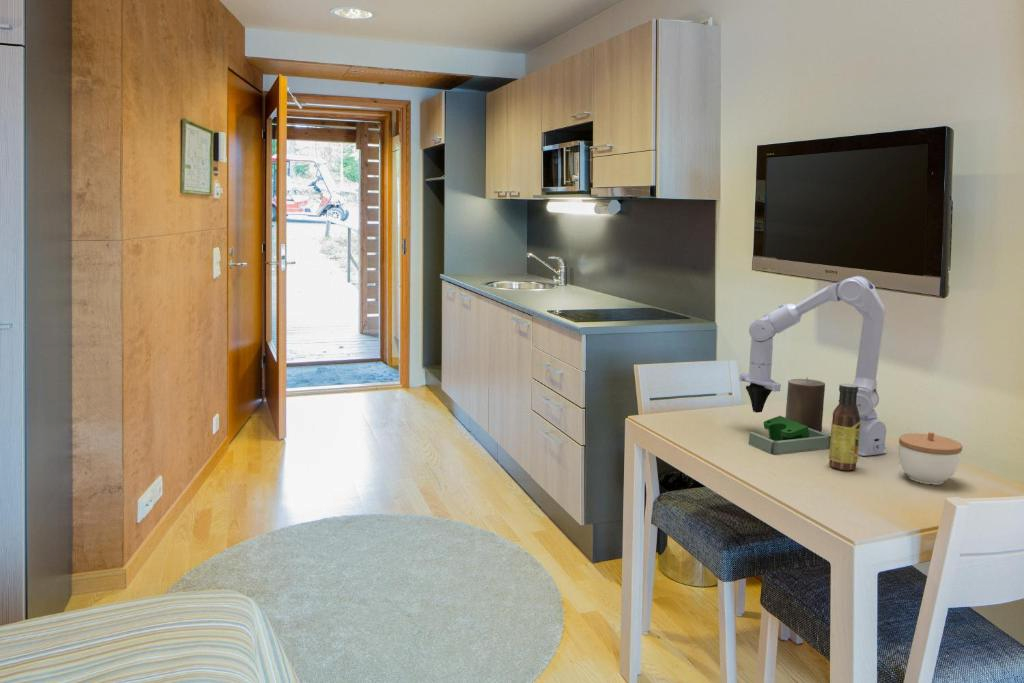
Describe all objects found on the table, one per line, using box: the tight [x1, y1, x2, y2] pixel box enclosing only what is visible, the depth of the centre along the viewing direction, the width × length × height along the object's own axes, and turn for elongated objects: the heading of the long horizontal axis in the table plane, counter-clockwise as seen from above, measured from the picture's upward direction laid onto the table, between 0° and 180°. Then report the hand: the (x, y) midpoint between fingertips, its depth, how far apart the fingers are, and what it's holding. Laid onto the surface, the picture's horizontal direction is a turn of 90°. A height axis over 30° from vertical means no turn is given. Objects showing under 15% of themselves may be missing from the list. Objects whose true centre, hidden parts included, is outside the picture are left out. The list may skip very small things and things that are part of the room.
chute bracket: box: [748, 428, 831, 456], centre depth 201 cm, size 10×18×3 cm, turn 112°
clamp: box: [762, 415, 809, 441], centre depth 203 cm, size 12×6×9 cm, turn 12°
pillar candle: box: [784, 377, 826, 432], centre depth 216 cm, size 10×10×15 cm
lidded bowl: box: [898, 431, 963, 486], centre depth 177 cm, size 13×13×11 cm
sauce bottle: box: [828, 383, 861, 471], centre depth 184 cm, size 7×6×20 cm
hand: (757, 411), depth 213 cm, fingers closed
